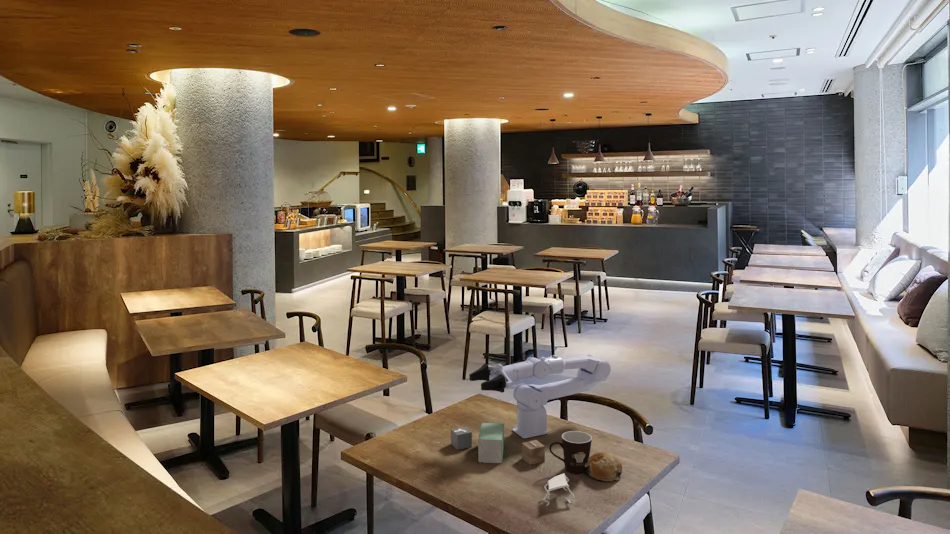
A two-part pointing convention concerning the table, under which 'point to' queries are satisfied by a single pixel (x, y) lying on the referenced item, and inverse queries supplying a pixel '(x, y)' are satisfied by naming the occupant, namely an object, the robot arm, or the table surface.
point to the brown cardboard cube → (533, 452)
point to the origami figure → (557, 486)
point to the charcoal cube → (461, 438)
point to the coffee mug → (575, 451)
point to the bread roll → (604, 466)
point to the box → (491, 443)
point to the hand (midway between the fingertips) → (475, 382)
